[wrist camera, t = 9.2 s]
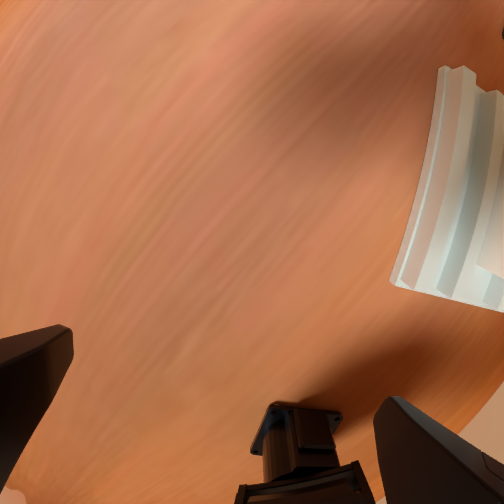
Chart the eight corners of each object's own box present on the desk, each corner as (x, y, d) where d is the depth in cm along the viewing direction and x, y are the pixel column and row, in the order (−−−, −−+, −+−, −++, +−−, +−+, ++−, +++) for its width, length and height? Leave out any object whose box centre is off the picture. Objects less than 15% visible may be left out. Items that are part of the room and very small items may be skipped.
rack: (501, 309, 20) (521, 322, 17) (388, 280, 19) (408, 297, 16) (541, 146, 16) (563, 147, 14) (438, 68, 15) (461, 57, 13)
